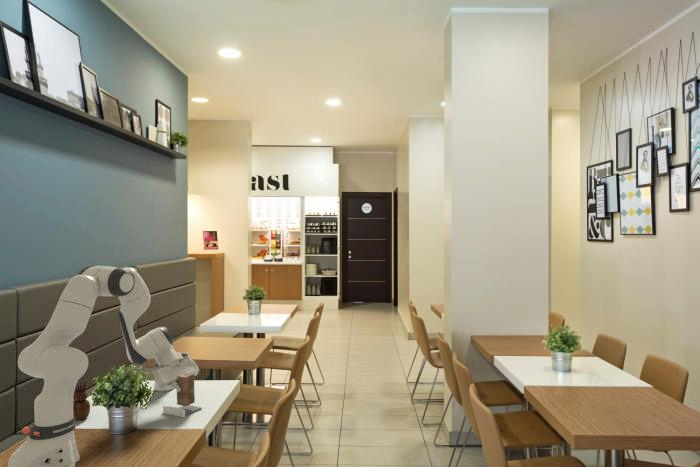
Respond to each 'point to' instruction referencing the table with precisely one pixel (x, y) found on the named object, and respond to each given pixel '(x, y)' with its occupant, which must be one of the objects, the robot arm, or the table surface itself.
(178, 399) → the walnut block
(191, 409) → the coaster
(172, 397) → the table surface
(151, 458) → the table surface
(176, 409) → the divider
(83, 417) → the wooden figurine
